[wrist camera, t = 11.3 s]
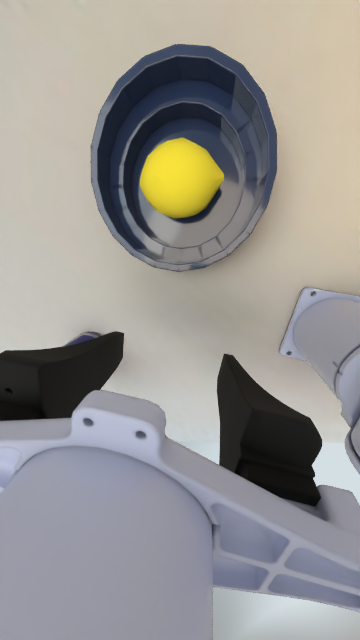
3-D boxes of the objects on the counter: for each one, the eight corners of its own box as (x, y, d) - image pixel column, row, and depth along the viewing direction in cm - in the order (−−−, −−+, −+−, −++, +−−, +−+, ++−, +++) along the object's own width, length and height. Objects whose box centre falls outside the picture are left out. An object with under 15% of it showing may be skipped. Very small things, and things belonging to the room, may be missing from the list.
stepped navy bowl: (285, 101, 16) (309, 52, 12) (240, 276, 22) (246, 283, 17) (118, 85, 18) (89, 36, 14) (113, 254, 23) (91, 256, 19)
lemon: (151, 222, 21) (131, 216, 16) (147, 158, 19) (122, 127, 14) (221, 219, 20) (223, 211, 15) (224, 151, 18) (228, 115, 13)
